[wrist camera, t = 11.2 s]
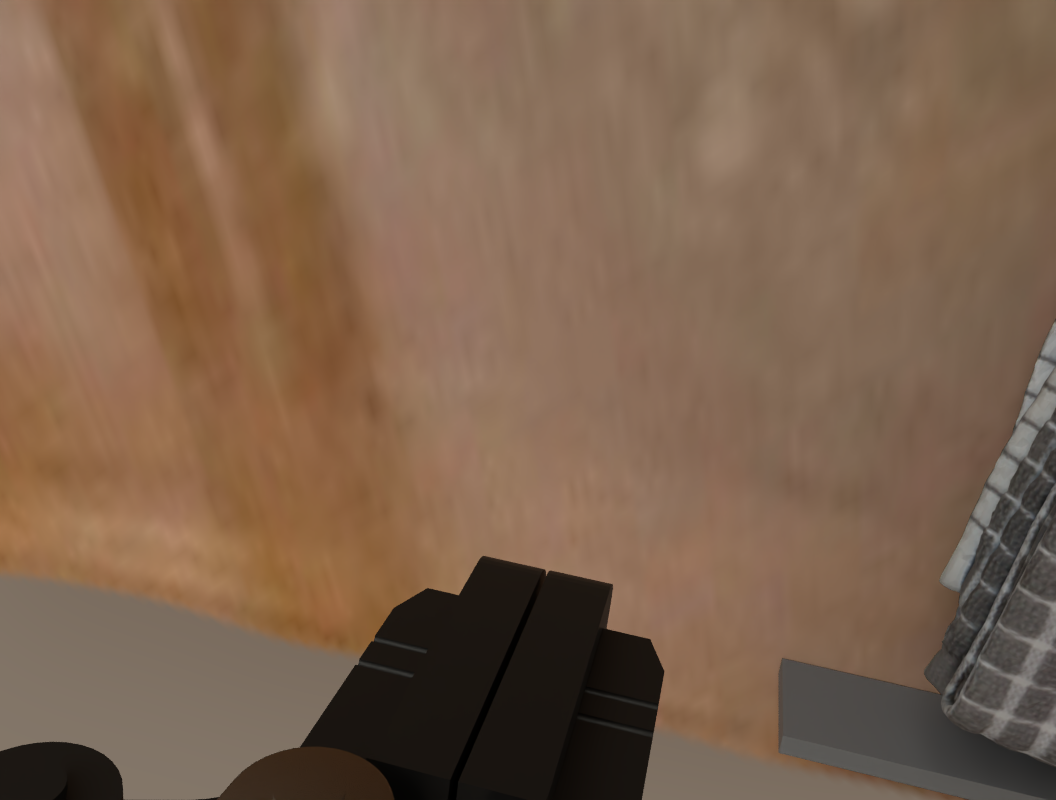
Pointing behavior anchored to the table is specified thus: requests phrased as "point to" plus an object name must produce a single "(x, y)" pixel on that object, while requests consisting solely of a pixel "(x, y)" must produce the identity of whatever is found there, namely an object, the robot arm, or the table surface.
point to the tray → (898, 737)
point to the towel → (1009, 589)
